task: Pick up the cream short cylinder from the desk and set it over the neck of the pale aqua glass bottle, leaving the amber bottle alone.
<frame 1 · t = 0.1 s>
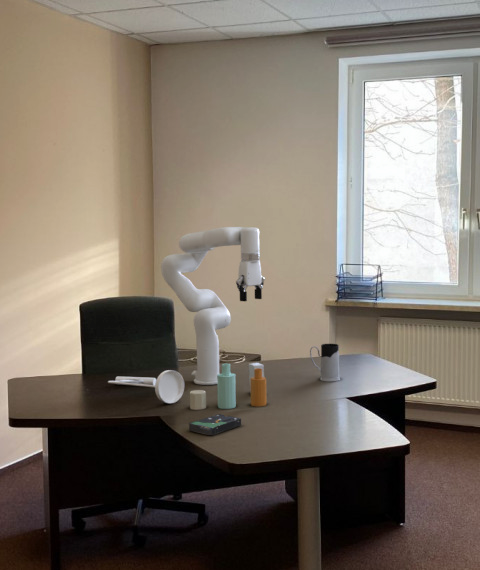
hand: (250, 300, 300), 37 cm above the table, tool pointing down, fingers open, 9 cm apart
bottle: (226, 406, 274), on the table
desk lamp: (147, 392, 299), on the table
cream short cylinder: (198, 407, 273), on the table
amber bottle: (258, 404, 277), on the table
disk drive: (215, 429, 246), on the table
glass holder: (324, 379, 321), on the table
cosmetic box: (256, 394, 294), on the table
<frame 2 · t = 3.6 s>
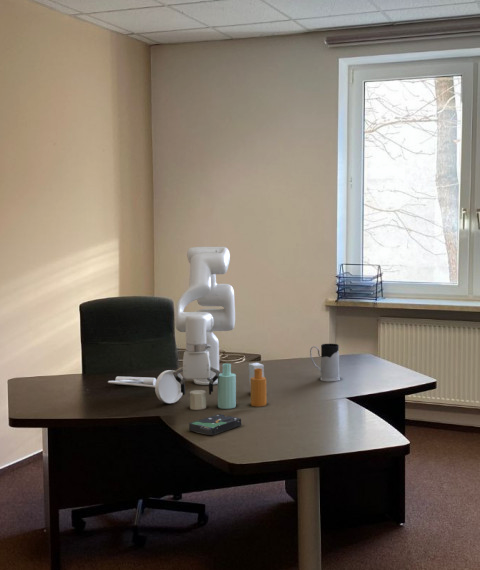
hand: (197, 394, 272), 5 cm above the table, tool pointing down, fingers open, 9 cm apart
nothing on the table moved.
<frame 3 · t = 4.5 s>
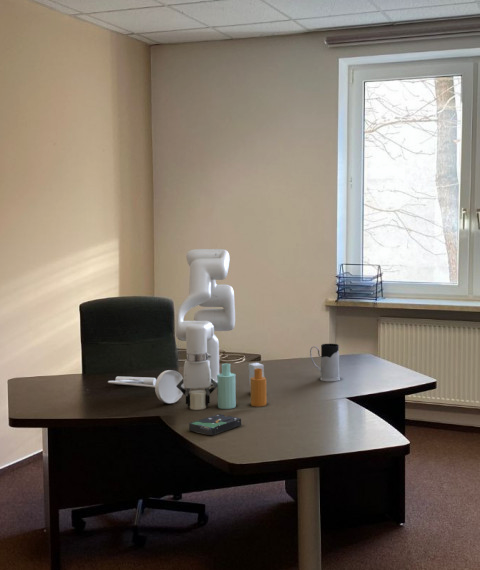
hand: (197, 405, 273), 1 cm above the table, tool pointing down, fingers closed on cream short cylinder, 6 cm apart
cream short cylinder: (197, 407, 273), on the table, touching gripper
everything else where it was.
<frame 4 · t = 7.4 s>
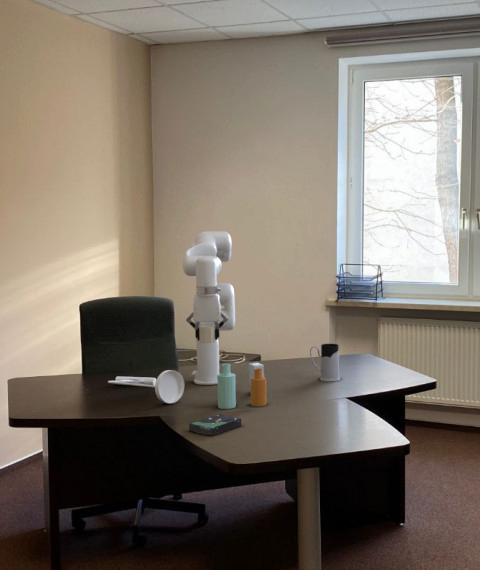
hand: (207, 339, 271), 25 cm above the table, tool pointing down, fingers closed on cream short cylinder, 6 cm apart
cream short cylinder: (207, 342, 271), point 24 cm above the table, touching gripper
everything else where it was.
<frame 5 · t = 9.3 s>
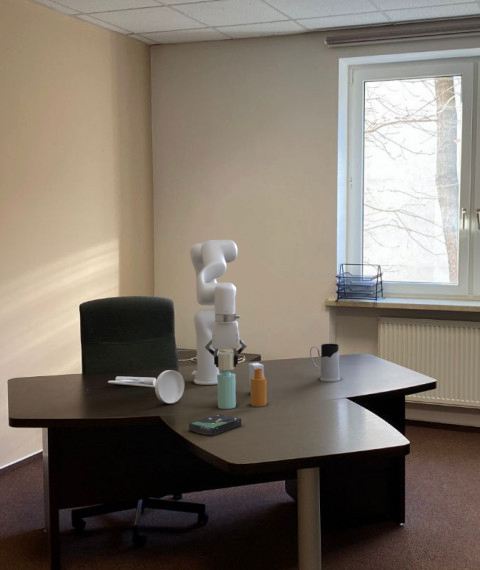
hand: (226, 366, 273), 15 cm above the table, tool pointing down, fingers closed on cream short cylinder, 6 cm apart
cream short cylinder: (226, 368, 273), point 14 cm above the table, touching gripper
everything else where it was.
when the fingers open (13 cm above the table, at t = 10.6 s): cream short cylinder stays where it is, resting on bottle.
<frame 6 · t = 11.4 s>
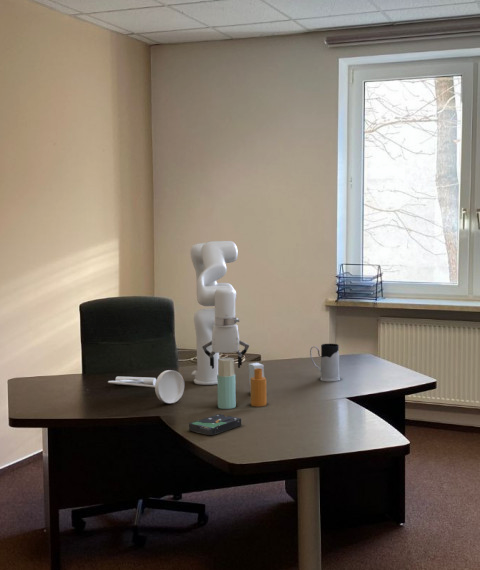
hand: (226, 367, 273), 15 cm above the table, tool pointing down, fingers open, 9 cm apart
bottle: (226, 406, 274), on the table, touching cream short cylinder
cream short cylinder: (226, 375, 273), point 12 cm above the table, touching bottle
everything else where it was.
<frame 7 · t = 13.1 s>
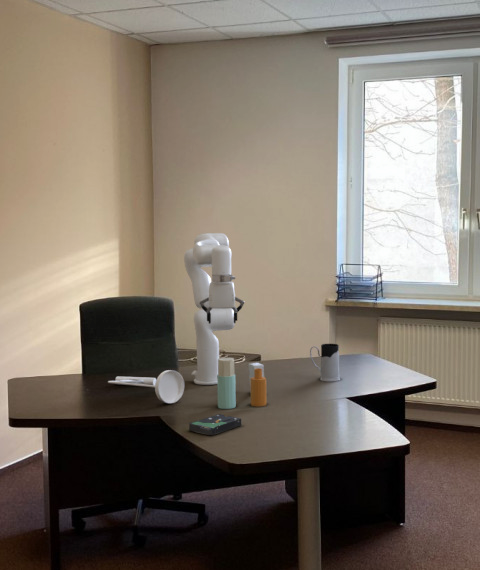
hand: (222, 322, 286), 29 cm above the table, tool pointing down, fingers open, 9 cm apart
nothing on the table moved.
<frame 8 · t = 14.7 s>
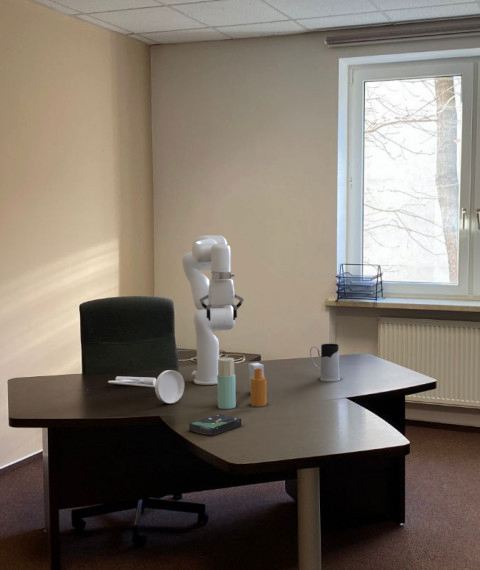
hand: (221, 319, 288), 30 cm above the table, tool pointing down, fingers open, 9 cm apart
nothing on the table moved.
at the end: cream short cylinder 0.1 cm off-centre in the bottle, point 12.0 cm above the bottle's base; cream short cylinder tilted 0°; bottle tilted 0° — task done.
